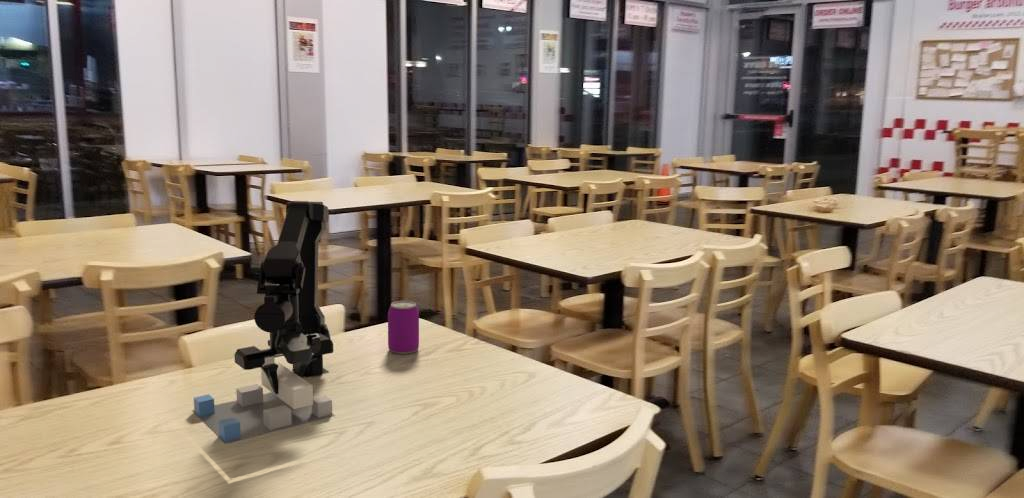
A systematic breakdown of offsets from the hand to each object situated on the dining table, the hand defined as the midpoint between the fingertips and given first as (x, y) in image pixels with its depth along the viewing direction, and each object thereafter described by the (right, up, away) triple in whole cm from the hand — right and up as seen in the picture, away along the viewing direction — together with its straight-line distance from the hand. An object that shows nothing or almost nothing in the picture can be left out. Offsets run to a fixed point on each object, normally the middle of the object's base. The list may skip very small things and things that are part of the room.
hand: (286, 391), depth 166 cm
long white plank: (0, -1, 0) cm, 1 cm away
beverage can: (+19, +3, +39) cm, 44 cm away
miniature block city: (-4, -5, -2) cm, 6 cm away
